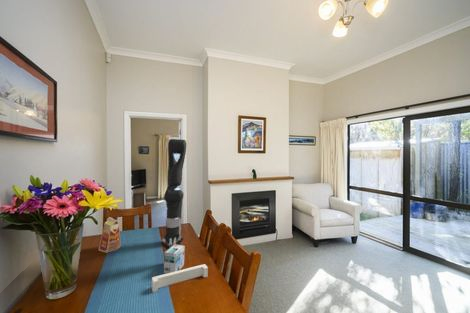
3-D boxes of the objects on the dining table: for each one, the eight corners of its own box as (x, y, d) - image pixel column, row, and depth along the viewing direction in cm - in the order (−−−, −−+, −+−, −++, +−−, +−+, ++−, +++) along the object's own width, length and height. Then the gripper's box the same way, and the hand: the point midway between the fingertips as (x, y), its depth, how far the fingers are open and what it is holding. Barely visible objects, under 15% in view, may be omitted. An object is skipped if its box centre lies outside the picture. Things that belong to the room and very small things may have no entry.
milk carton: (98, 250, 124) (100, 218, 124) (112, 244, 132) (113, 214, 133) (108, 253, 121) (109, 220, 121) (121, 247, 129) (123, 216, 130)
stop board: (151, 287, 90) (152, 277, 90) (204, 272, 103) (204, 263, 104) (152, 292, 87) (153, 282, 87) (207, 276, 100) (208, 267, 100)
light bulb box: (174, 275, 100) (175, 253, 100) (163, 273, 102) (164, 252, 102) (184, 264, 111) (185, 245, 111) (173, 263, 112) (174, 243, 112)
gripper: (182, 221, 119) (181, 250, 119) (159, 224, 112) (157, 255, 112) (186, 225, 113) (184, 255, 112) (161, 228, 106) (160, 261, 106)
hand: (171, 255), depth 112 cm, fingers closed
